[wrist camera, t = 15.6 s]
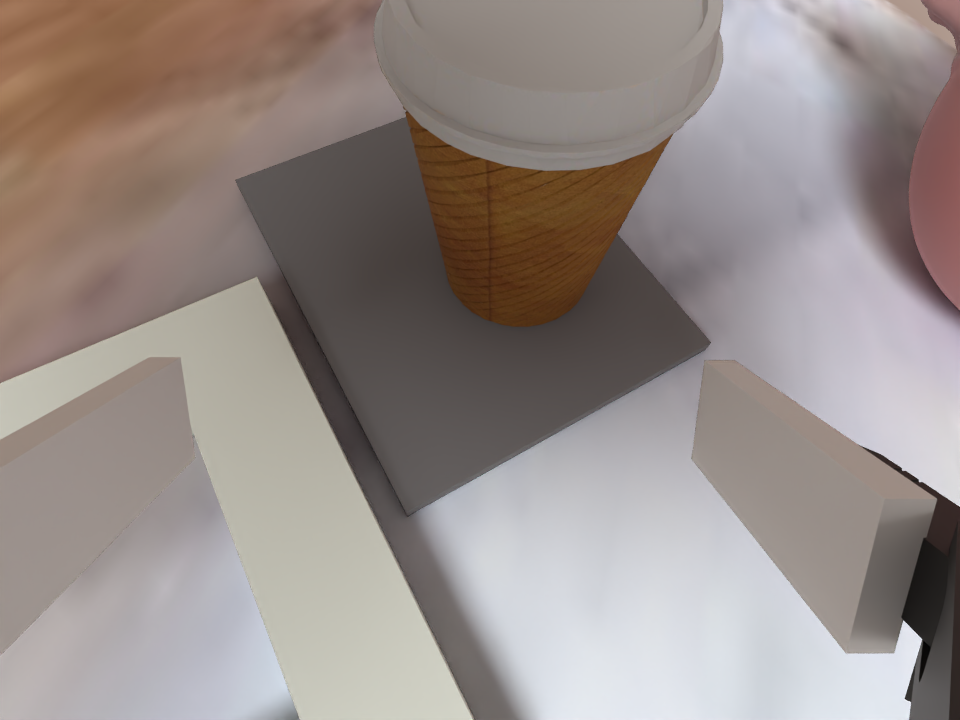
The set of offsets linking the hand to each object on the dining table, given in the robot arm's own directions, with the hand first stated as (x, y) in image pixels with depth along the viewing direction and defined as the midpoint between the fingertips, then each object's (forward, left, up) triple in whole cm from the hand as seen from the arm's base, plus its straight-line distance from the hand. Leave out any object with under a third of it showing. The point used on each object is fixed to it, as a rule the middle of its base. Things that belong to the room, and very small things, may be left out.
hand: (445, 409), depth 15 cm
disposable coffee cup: (-7, +7, -7) cm, 12 cm away
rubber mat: (-9, +5, -8) cm, 13 cm away
